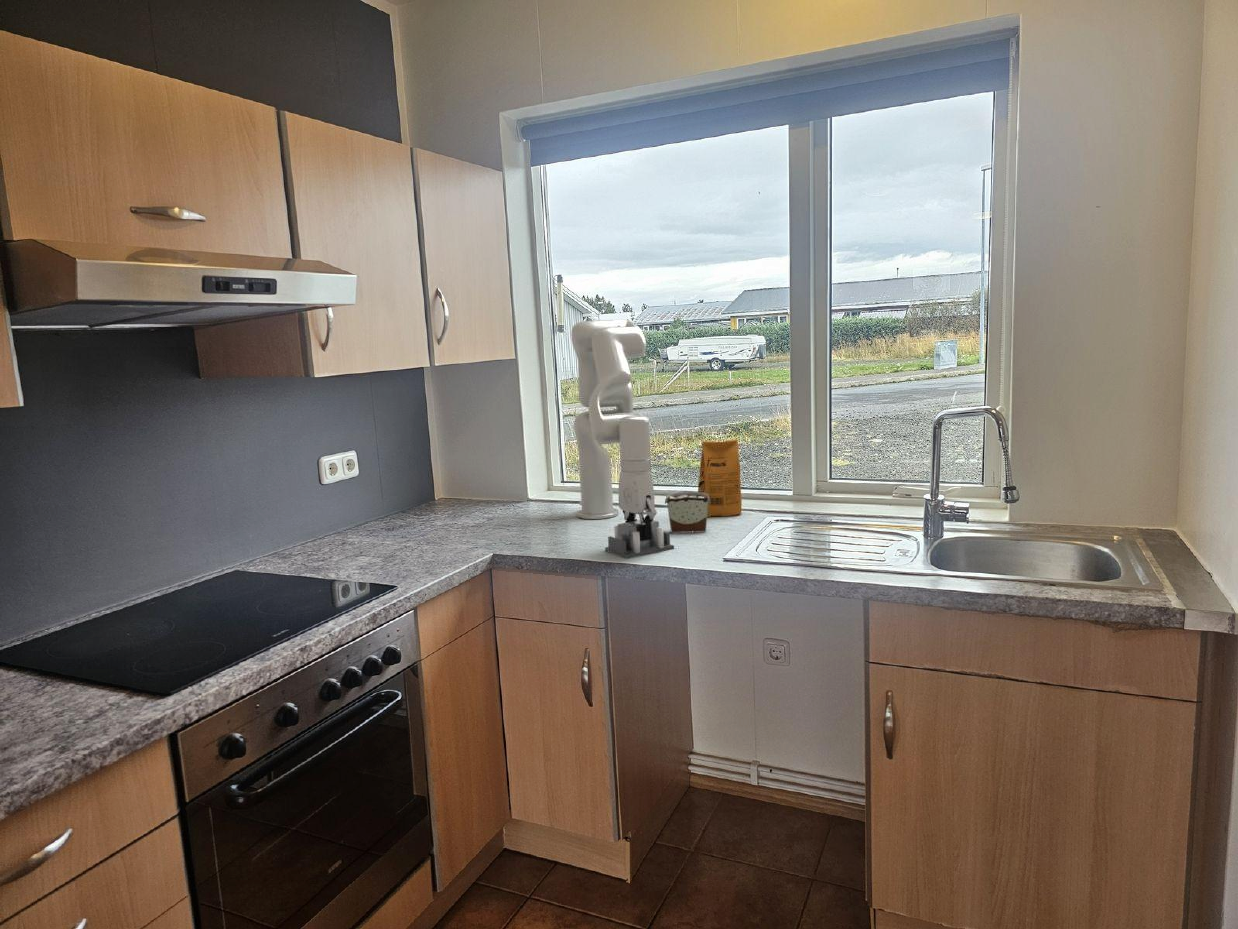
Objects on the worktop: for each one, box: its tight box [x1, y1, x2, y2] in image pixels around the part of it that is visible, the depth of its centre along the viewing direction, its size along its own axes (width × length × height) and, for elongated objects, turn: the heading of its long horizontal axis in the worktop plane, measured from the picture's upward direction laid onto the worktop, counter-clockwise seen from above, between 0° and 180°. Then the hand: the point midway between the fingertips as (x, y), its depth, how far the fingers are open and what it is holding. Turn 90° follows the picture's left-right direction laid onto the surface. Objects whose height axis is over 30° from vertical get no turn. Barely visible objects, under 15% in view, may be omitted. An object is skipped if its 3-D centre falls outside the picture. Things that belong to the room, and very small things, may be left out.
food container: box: [664, 491, 711, 533], centre depth 220 cm, size 12×6×10 cm, turn 84°
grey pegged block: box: [604, 525, 675, 559], centre depth 201 cm, size 10×14×6 cm
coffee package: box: [697, 438, 743, 518], centre depth 237 cm, size 10×12×22 cm
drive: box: [617, 519, 660, 551], centre depth 201 cm, size 5×9×6 cm, turn 122°
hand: (638, 537), depth 201 cm, fingers open, 5 cm apart
